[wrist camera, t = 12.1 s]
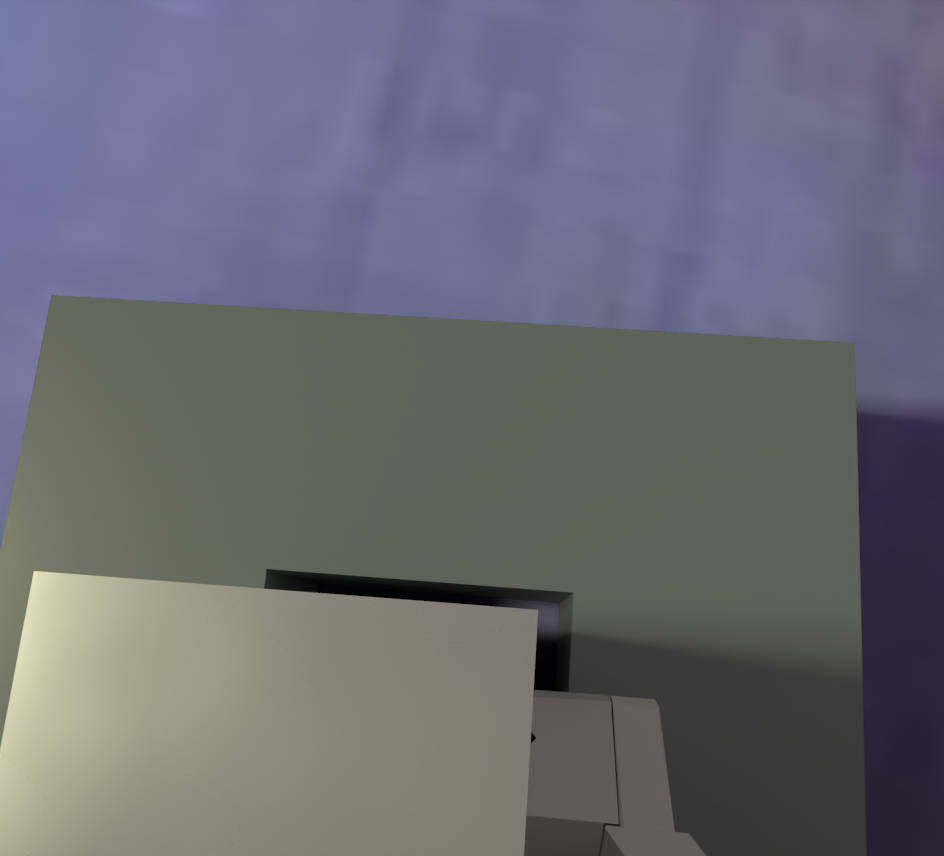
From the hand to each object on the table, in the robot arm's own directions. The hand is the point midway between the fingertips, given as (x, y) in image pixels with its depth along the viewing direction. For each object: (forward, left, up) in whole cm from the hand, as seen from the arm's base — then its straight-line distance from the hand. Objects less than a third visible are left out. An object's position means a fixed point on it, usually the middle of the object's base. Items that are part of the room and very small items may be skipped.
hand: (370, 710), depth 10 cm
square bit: (-1, 0, -5) cm, 5 cm away
